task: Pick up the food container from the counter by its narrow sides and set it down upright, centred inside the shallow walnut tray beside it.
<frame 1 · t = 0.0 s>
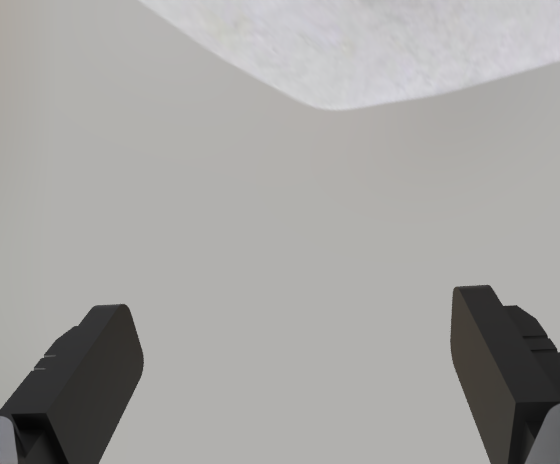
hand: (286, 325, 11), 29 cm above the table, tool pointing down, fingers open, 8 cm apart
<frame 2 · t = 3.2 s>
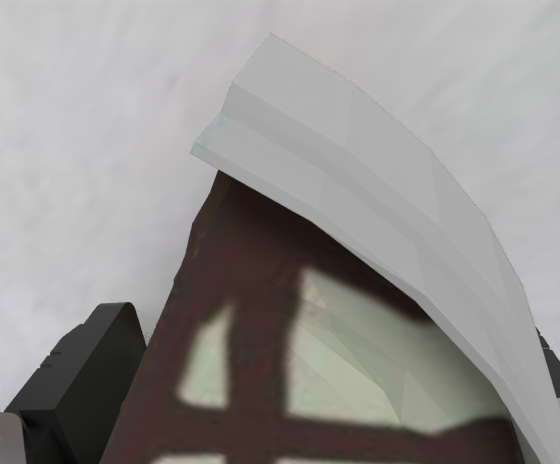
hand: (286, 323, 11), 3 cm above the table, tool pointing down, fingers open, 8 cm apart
food container: (307, 260, 14), on the table
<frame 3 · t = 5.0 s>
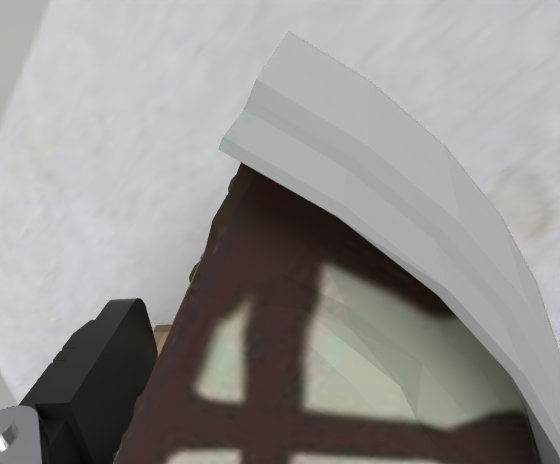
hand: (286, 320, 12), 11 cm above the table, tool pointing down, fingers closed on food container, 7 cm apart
food container: (314, 259, 15), point 7 cm above the table, touching gripper
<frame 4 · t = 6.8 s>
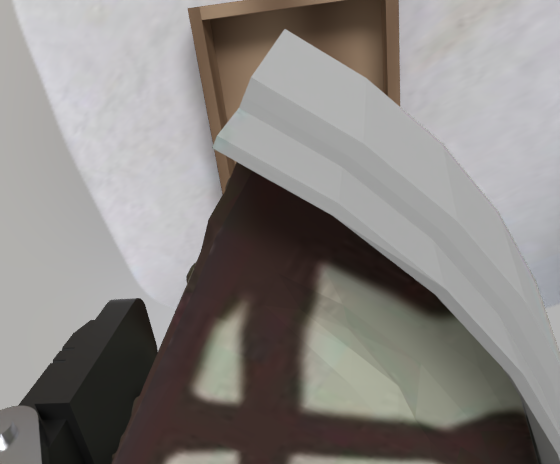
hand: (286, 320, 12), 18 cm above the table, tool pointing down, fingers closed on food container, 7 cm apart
walnut tray: (307, 144, 28), on the table
food container: (313, 258, 14), point 15 cm above the table, touching gripper
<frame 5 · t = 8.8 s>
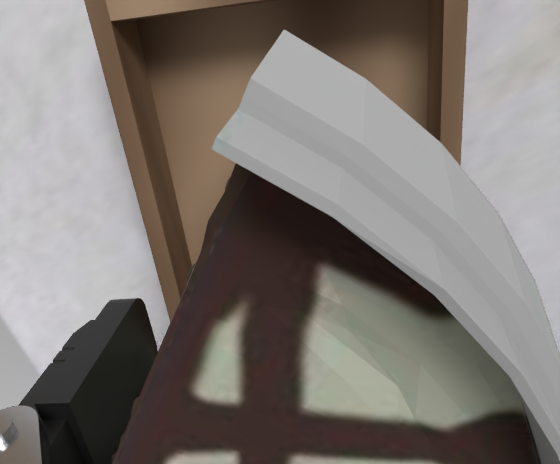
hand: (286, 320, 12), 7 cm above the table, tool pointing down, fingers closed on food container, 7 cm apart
walnut tray: (301, 218, 18), on the table
food container: (313, 258, 14), point 3 cm above the table, touching gripper
when the fingers open (5 cm above the table, at t = 10.3 s): food container drops 1 cm, resting on walnut tray.
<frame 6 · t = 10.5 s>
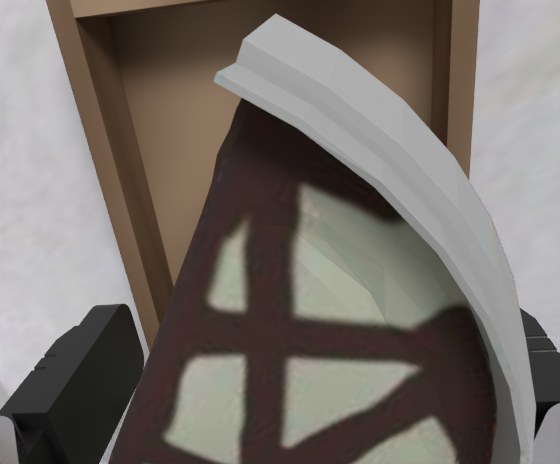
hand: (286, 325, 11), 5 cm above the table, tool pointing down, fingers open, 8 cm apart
walnut tray: (293, 234, 16), on the table
food container: (326, 244, 16), point 1 cm above the table, touching gripper, walnut tray
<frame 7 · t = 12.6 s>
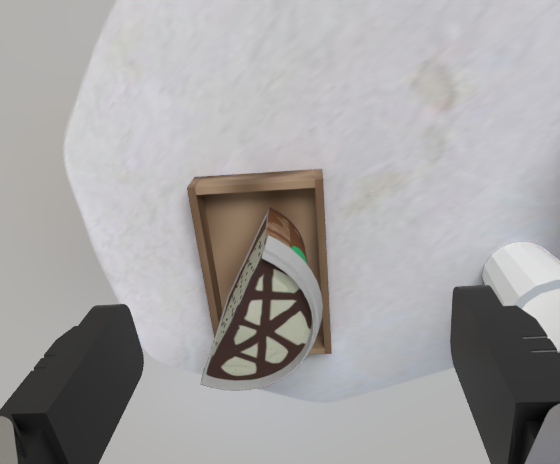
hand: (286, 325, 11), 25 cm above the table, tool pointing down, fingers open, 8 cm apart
white tapered cylindrical piece: (515, 269, 39), on the table
walnut tray: (267, 262, 40), on the table
food container: (280, 265, 40), resting on walnut tray
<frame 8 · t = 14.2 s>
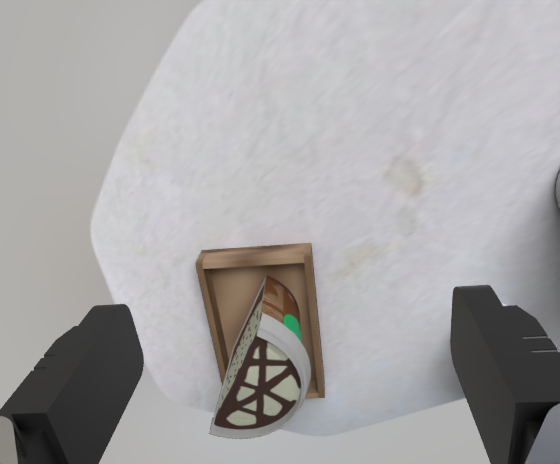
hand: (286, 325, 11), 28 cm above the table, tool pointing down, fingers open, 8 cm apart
walnut tray: (266, 318, 46), on the table
food container: (278, 322, 45), resting on walnut tray
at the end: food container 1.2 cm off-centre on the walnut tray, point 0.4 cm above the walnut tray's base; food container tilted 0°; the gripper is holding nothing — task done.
